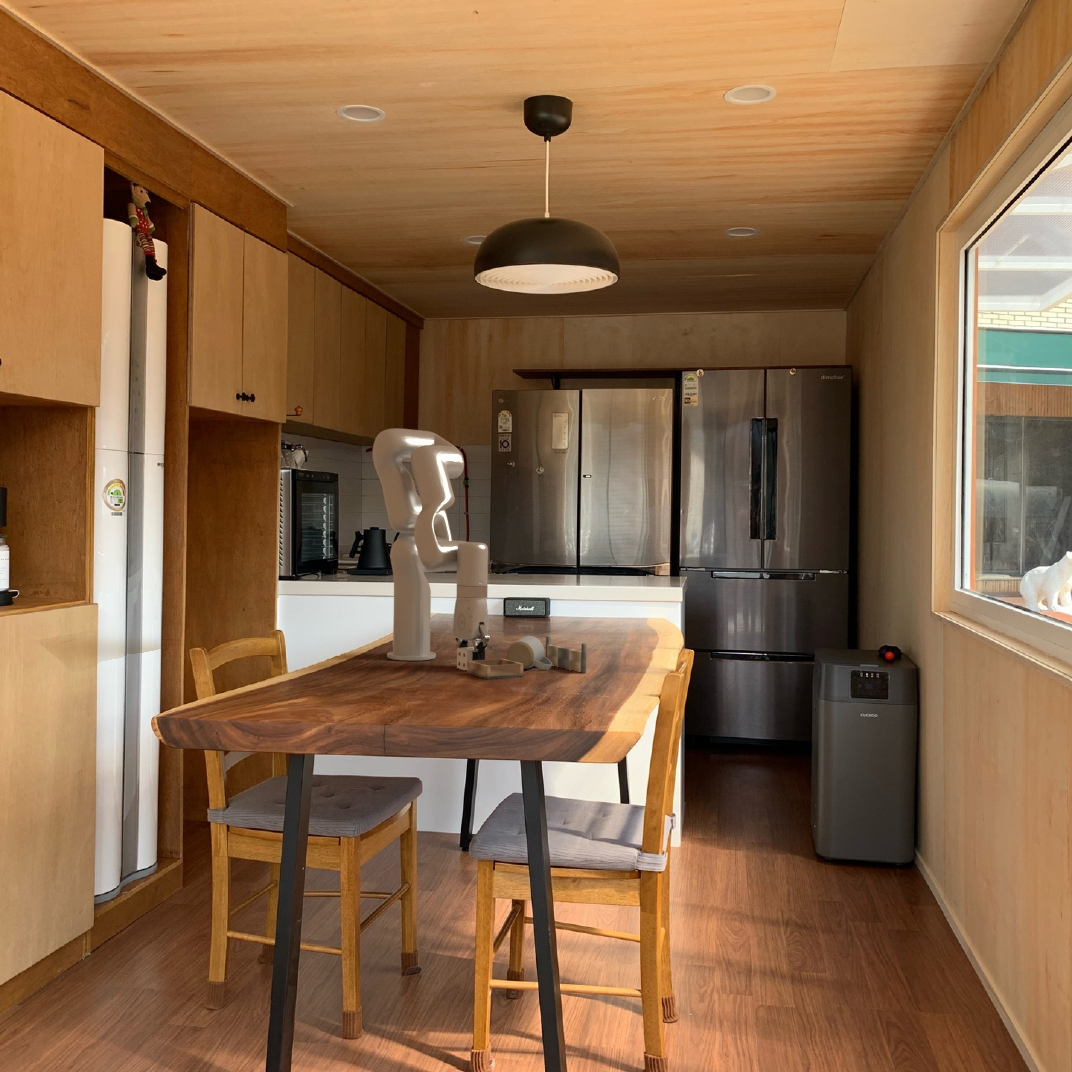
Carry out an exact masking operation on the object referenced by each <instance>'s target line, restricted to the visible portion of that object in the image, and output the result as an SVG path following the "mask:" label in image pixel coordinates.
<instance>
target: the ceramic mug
mask: <svg viewBox="0 0 1072 1072" xmlns="http://www.w3.org/2000/svg"><path fill="white" fill-rule="evenodd" d="M545 654H546V650H545V646H544V645H543V642H542V641H541V640H540V639H539V638H537V637H536V636H533V635H525V636H522V637H520V638H519V639H517V640H515V641H513V643H511V645H510V646H509V647H508V650H507V655H506V656H507V660H510V661H515V662H519V663H523V671H524V670H528V669H530V668H533V667H536V668H538V669H540V670H543V671H550V670H551V668H552V667H553V666H552V662H551V661H550V660H549V659H548V658H546V655H545ZM549 669H550V670H549Z"/></svg>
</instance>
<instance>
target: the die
mask: <svg viewBox="0 0 1072 1072" xmlns="http://www.w3.org/2000/svg"><path fill="white" fill-rule="evenodd" d="M472 652H475V651H474V648H473V646H468V647H465V648H457V647H456V668H457V669H458V668H459V670H463V671H465V670H467V661H472Z"/></svg>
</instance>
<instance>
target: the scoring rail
mask: <svg viewBox="0 0 1072 1072" xmlns="http://www.w3.org/2000/svg"><path fill="white" fill-rule="evenodd" d="M551 638H552V637H551V636H548V635H547V636H545V657H546V658H548V659H549V660H550V661H551V662H552V665H554V666H557V667H556V668H558V667H561V668H560V669H562V668H567V669H570V670H569V671H571V670H576V671H579V672H582V673H581V674H586V673H587V649H588V647H587V643H581V650H578V649H573V648H569V647H563V646H559V645H554V644H552V643H551V640H552V639H551ZM554 666H553V667H554ZM567 669H566V670H567ZM579 672H578V673H579ZM585 672H586V673H585Z"/></svg>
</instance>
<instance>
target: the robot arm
mask: <svg viewBox="0 0 1072 1072" xmlns="http://www.w3.org/2000/svg"><path fill="white" fill-rule="evenodd" d="M372 461H373V466H374V469H375V471H376V473H377V476H378V479H379V480H380V484H381V487H382V488H381V489H382V494H383V498H384V503H385V508H386V512H387V517H388V521H389V522H388V523H389V524H390V527H391V528H392V530H393V531H395V532H397V533H401V534H413V535H407V536H402V537H400V538H398V539H397V540H395V541H394V542H393V544H392V545H391V548H390V555H389V557H390V563H391V569H392V575H393V625H392V626H393V627H392V628H393V631H392V632H393V633H392V634H393V637H392V643H391V645H392V651H389V652H387V653H386V657H387V659H390V660H395V661H407V662H408V661H413V662H414V661H427V660H433V659H436V657H437V653H436V652H434V651H431V603H432V601H431V599H432V598H431V597H432V595H431V594H432V591H431V586H430V583H429V581H428V579H427V577H426V575H425V574H426V573H440V572H454V571H456V597H455V598H456V599H455V604H454V612H453V620H452V621H453V623H452V626H453V627H452V634H453V637H454V638H455V641H456V649H457V648H465V647H470V646H469V645H470V642H472V647H473V648H474V651H475V652H472V661H474V660H486V652H487V647H488V643H489V641H490V637H491V636H490V634H489V617H488V616H489V613H488V604H487V600H488V582H489V581H488V580H489V579H488V578H489V576H488V574H489V573H488V572H489V571H488V570H489V548H488V545H487V544H486V543H484V542H477V541H476V542H475V541H474V542H473V541H472V542H471V541H466V540H454V539H453V538H452V531H451V527H450V523H449V519H448V518H449V517H448V513H447V512H446V510H447V509H449V508H450V507H452V505H454V503H455V501H456V499H455V498H456V497H455V495H454V491H453V487H452V482H451V480H450V479H456V478H459V477H461V475H462V473H463V471H464V470H465V469H464V468H465V461H464V456H463V454H462V452H461V451H460V450H459V448H457V447H456V446H455V445H453V444H452V443H450V442H449V441H448V440H446V439H445V438H443V437H442V436H441V435H439V434H437V433H435V432H432V431H429V430H421V429H420V430H419V429H418V430H417V429H410V428H409V429H408V428H387V429H384V430H382V431H381V432H379V433H378V434H377V435H376V437H375V439H374V442H373V447H372ZM403 462H410V465H411V469H412V473H413V476H414V477H413V476H412V475H411V473H410V471H409V470H408V469H407V468H406V466H404V465H403ZM414 480H415V481H414ZM416 488H417V490H416ZM417 491H418V493H417Z"/></svg>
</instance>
